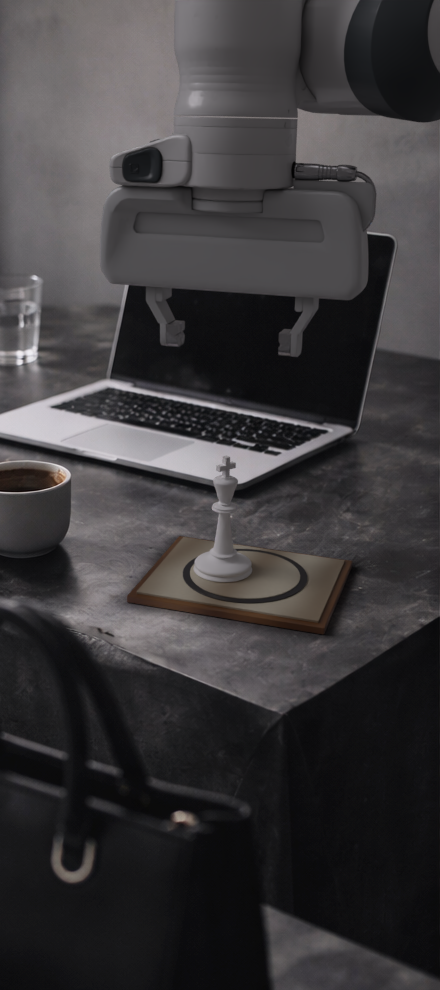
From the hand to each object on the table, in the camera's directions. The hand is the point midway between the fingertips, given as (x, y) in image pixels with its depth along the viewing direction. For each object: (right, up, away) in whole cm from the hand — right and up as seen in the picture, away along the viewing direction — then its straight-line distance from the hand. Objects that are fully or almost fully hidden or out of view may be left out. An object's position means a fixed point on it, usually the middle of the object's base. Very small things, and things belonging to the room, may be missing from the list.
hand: (230, 349), depth 76 cm
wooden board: (+1, -19, +6) cm, 20 cm away
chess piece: (-1, -18, +6) cm, 19 cm away
